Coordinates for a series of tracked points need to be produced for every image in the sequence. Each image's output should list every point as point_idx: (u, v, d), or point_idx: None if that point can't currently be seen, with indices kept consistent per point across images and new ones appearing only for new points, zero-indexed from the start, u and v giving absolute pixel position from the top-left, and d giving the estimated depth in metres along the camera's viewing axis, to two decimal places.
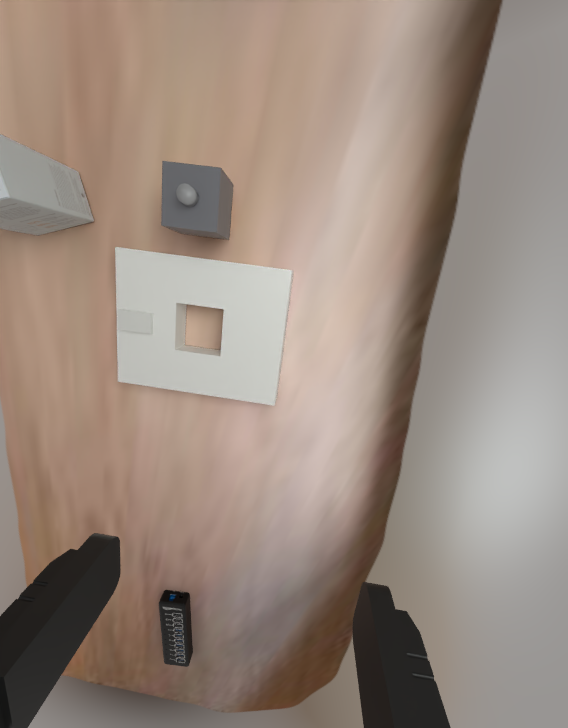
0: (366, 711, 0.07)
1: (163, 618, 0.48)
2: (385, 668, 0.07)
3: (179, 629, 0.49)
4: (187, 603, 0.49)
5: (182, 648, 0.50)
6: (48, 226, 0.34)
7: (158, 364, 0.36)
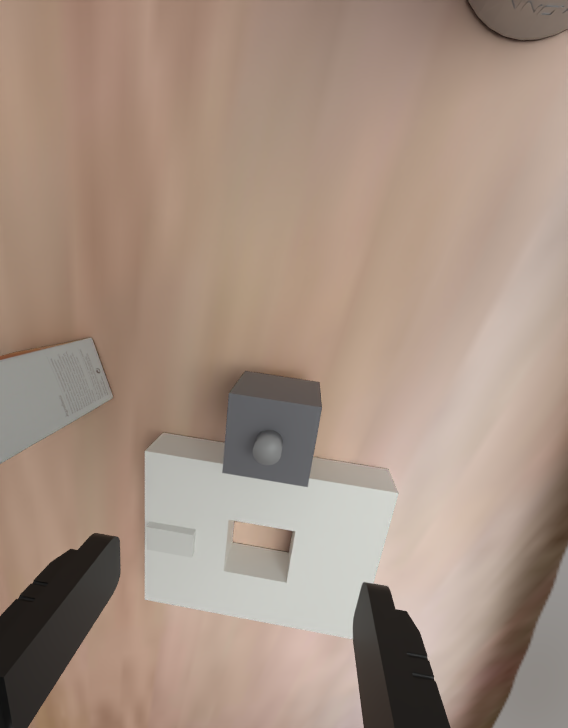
0: (366, 710, 0.07)
1: None
2: (385, 668, 0.07)
3: None
4: None
5: None
6: None
7: (200, 585, 0.27)
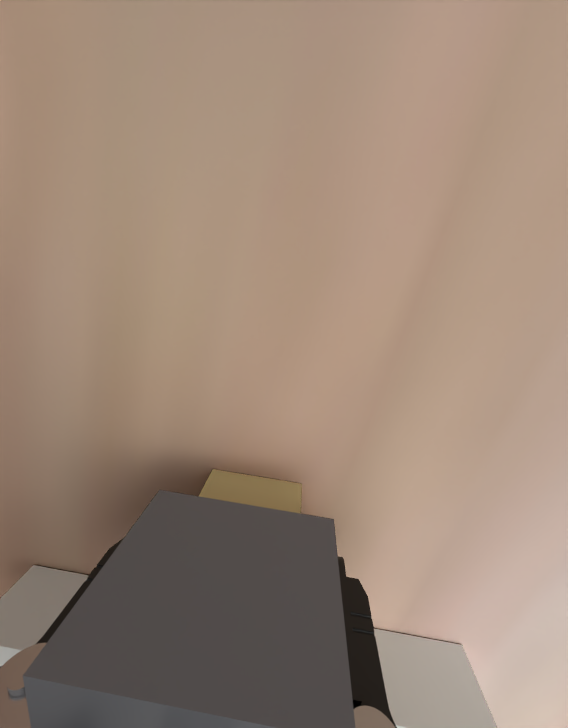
0: None
1: None
2: None
3: None
4: None
5: None
6: None
7: None
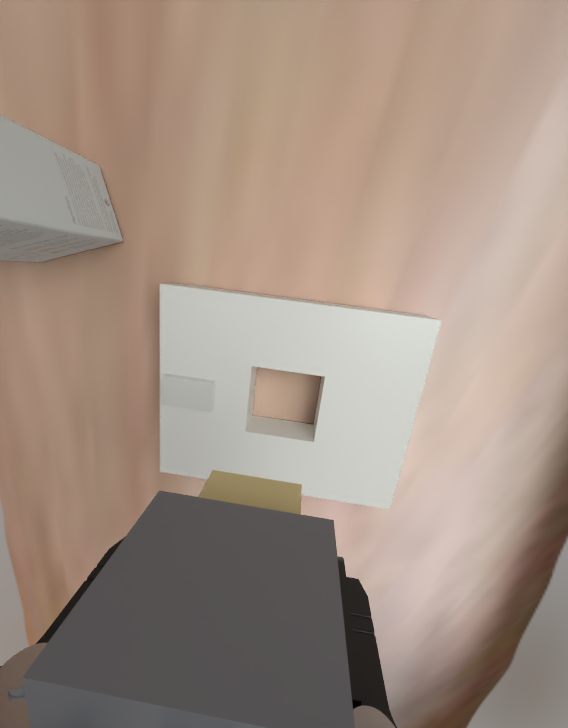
0: None
1: None
2: None
3: None
4: None
5: None
6: (55, 252, 0.22)
7: (219, 451, 0.25)
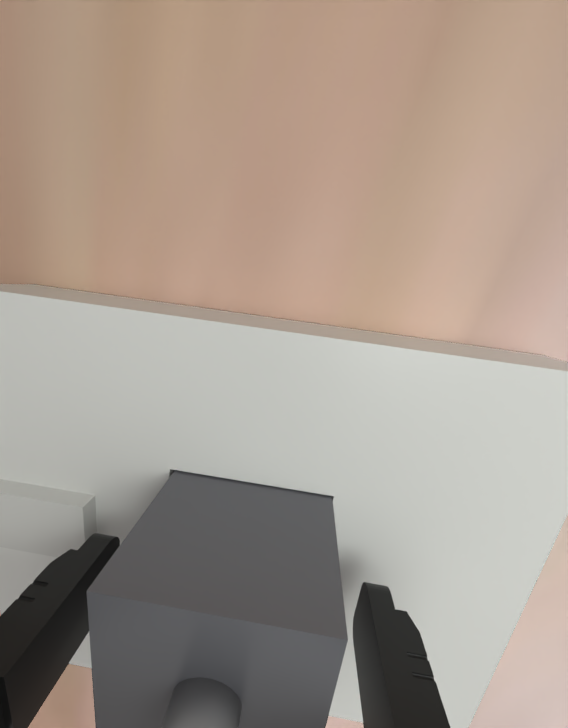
0: (366, 711, 0.07)
1: None
2: (385, 668, 0.07)
3: None
4: None
5: None
6: None
7: None
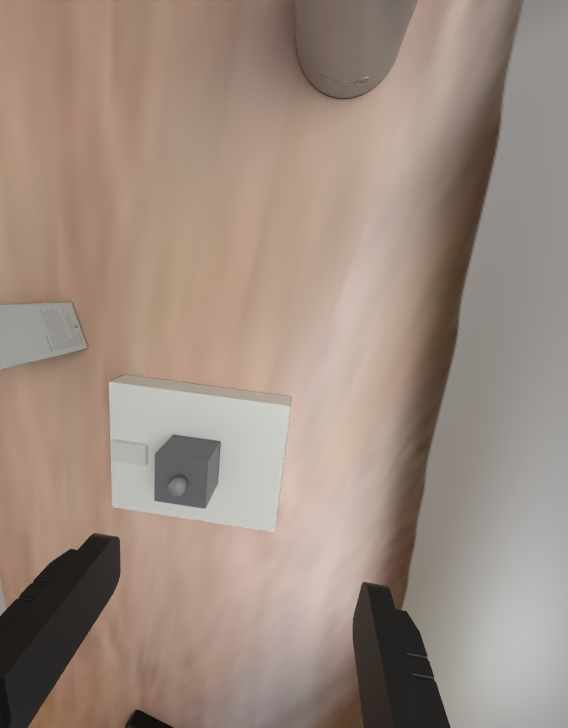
0: (366, 711, 0.07)
1: None
2: (385, 668, 0.07)
3: None
4: (138, 720, 0.47)
5: None
6: None
7: (153, 492, 0.35)
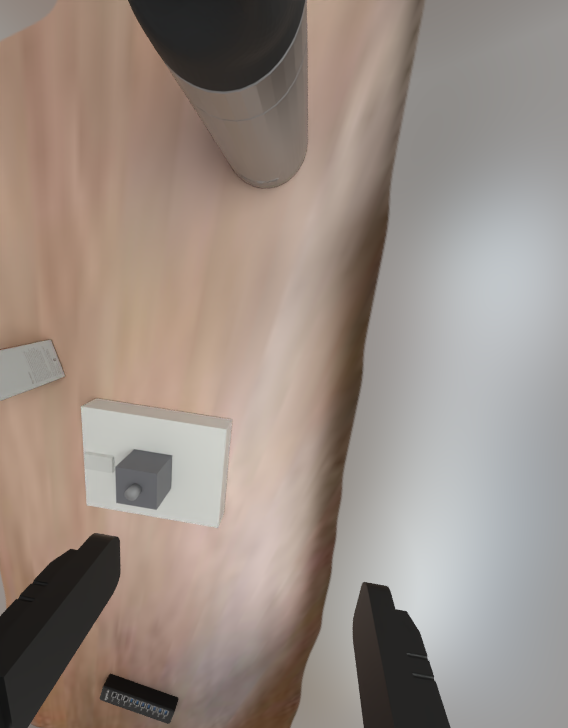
0: (366, 711, 0.07)
1: (117, 704, 0.57)
2: (385, 668, 0.07)
3: (130, 699, 0.56)
4: (111, 681, 0.57)
5: (151, 706, 0.56)
6: None
7: None
